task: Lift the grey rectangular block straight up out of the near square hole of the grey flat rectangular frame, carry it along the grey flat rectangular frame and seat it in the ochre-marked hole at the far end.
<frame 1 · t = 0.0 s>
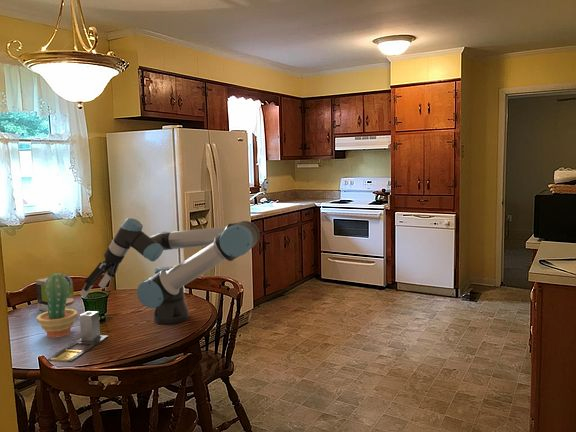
hand: (92, 291, 205), 15 cm above the table, tool tilted 35°, fingers open, 13 cm apart
grey rectangular block: (91, 340, 191), resting in grey flat rectangular frame
potted cactus: (58, 333, 200), on the table
tea box: (56, 309, 232), on the table
grey flat rectangular frame: (79, 347, 184), on the table
lidded jar: (62, 318, 219), on the table
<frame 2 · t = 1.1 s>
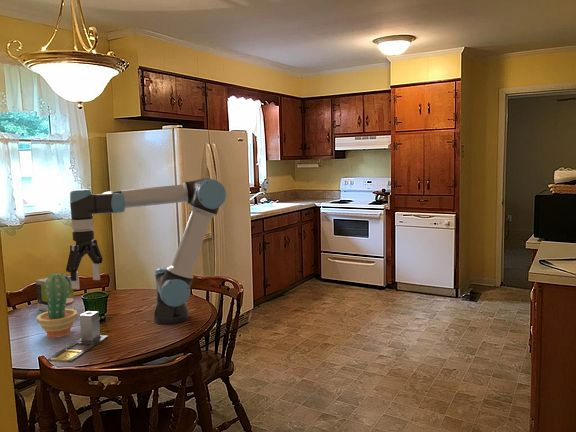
hand: (86, 284, 188), 23 cm above the table, tool pointing down, fingers open, 13 cm apart
nothing on the table moved.
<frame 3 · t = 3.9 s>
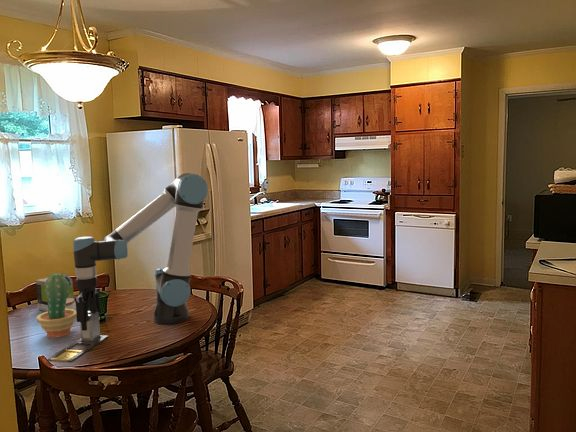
hand: (90, 334, 191), 2 cm above the table, tool pointing down, fingers closed on grey rectangular block, 5 cm apart
grey rectangular block: (91, 340, 191), resting in grey flat rectangular frame, touching gripper
everything else where it was.
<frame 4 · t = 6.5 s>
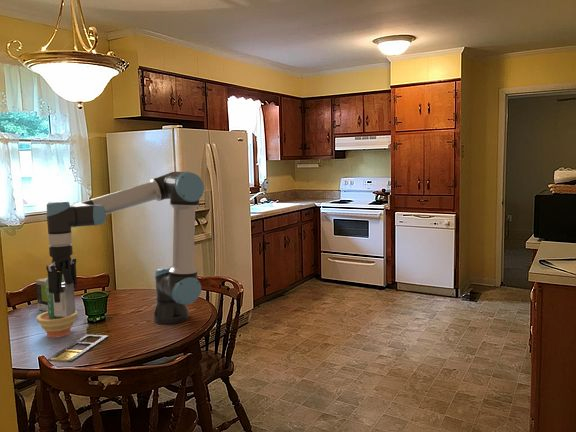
hand: (64, 308, 176), 17 cm above the table, tool pointing down, fingers closed on grey rectangular block, 5 cm apart
grey rectangular block: (65, 314, 176), point 15 cm above the table, touching gripper
everything else where it was.
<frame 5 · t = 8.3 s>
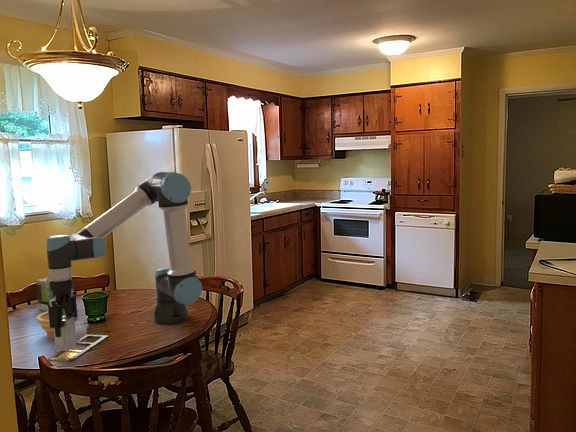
hand: (65, 341, 175), 5 cm above the table, tool pointing down, fingers closed on grey rectangular block, 5 cm apart
grey rectangular block: (65, 347, 176), point 3 cm above the table, touching gripper
everything else where it was.
when the fingers open (3 cm above the table, at t = 9.3 s): grey rectangular block stays where it is, resting on grey flat rectangular frame.
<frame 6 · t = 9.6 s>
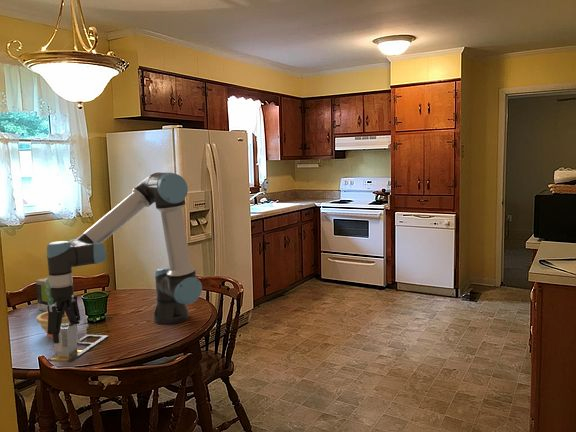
hand: (66, 346, 176), 4 cm above the table, tool pointing down, fingers open, 8 cm apart
grey rectangular block: (67, 355, 176), resting on grey flat rectangular frame
everything else where it was.
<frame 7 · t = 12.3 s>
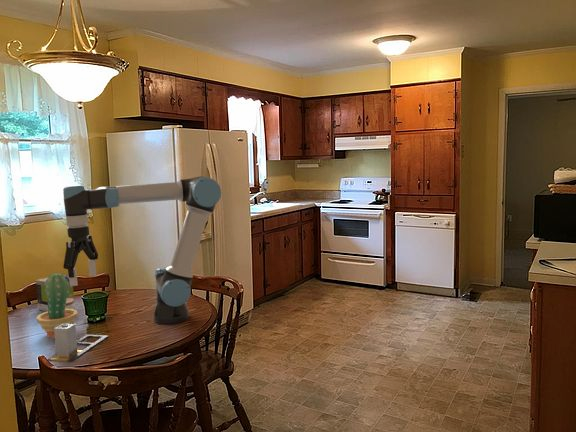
hand: (83, 280, 187), 24 cm above the table, tool pointing down, fingers open, 13 cm apart
nothing on the table moved.
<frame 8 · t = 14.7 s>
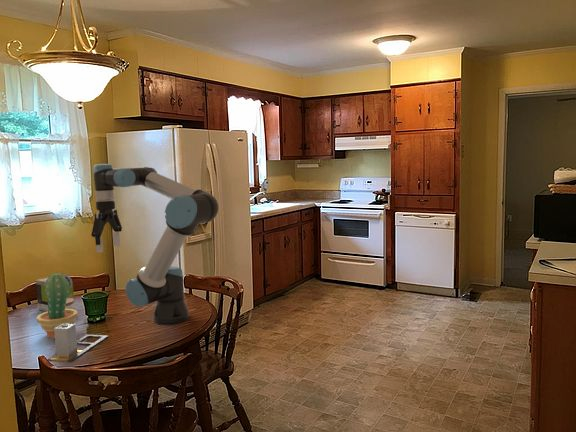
hand: (108, 249, 211), 32 cm above the table, tool pointing down, fingers open, 13 cm apart
nothing on the table moved.
at the end: grey rectangular block 0.0 cm from the target spot on the grey flat rectangular frame, point 0.2 cm above the grey flat rectangular frame's base; grey rectangular block tilted 0°; the gripper is holding nothing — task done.
